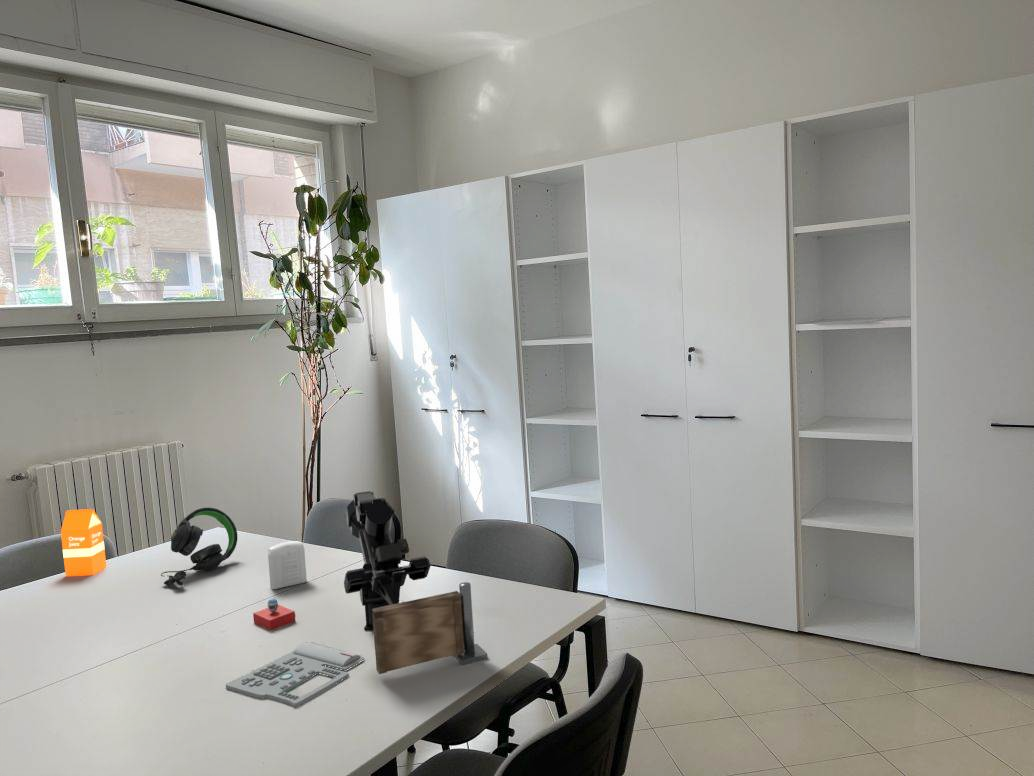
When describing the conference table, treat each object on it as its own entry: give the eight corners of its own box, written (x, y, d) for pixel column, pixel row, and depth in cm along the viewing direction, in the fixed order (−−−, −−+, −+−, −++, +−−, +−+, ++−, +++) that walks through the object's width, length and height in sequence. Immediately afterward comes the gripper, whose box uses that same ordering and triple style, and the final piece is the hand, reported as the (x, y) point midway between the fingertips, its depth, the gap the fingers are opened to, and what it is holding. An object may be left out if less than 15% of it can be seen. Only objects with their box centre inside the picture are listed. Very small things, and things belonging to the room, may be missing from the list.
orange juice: (93, 575, 238) (86, 512, 236) (65, 576, 238) (58, 513, 236) (107, 566, 245) (100, 505, 244) (79, 568, 246) (73, 507, 244)
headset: (181, 609, 228) (238, 539, 250) (202, 597, 220) (259, 526, 242) (134, 569, 223) (197, 502, 245) (154, 556, 215) (217, 488, 237)
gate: (460, 649, 165) (456, 590, 164) (464, 653, 163) (460, 594, 162) (376, 670, 158) (371, 608, 156) (379, 674, 156) (374, 612, 154)
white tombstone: (304, 578, 223) (300, 537, 222) (309, 582, 219) (305, 540, 218) (268, 587, 217) (264, 544, 216) (272, 591, 214) (269, 548, 212)
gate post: (477, 647, 169) (472, 577, 167) (487, 658, 163) (483, 585, 162) (451, 654, 166) (446, 582, 165) (461, 664, 161) (456, 591, 160)
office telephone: (310, 636, 176) (375, 652, 165) (311, 647, 176) (376, 663, 166) (224, 678, 157) (291, 699, 146) (225, 690, 157) (292, 712, 146)
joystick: (295, 622, 191) (293, 597, 190) (270, 631, 186) (268, 606, 185) (278, 615, 196) (276, 591, 195) (254, 624, 191) (251, 599, 190)
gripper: (342, 535, 165) (357, 600, 156) (425, 521, 173) (444, 583, 164) (338, 561, 173) (352, 624, 164) (417, 546, 181) (435, 606, 172)
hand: (396, 609), depth 166 cm, fingers closed
